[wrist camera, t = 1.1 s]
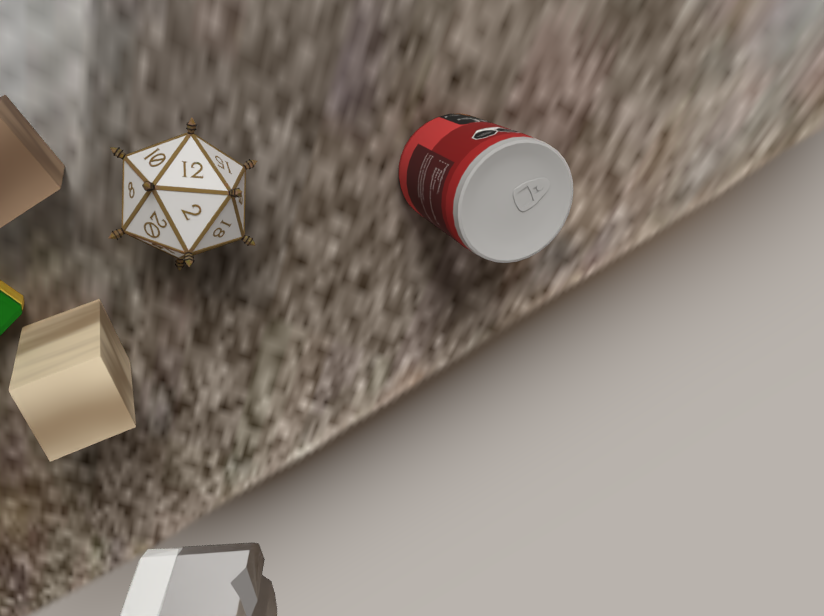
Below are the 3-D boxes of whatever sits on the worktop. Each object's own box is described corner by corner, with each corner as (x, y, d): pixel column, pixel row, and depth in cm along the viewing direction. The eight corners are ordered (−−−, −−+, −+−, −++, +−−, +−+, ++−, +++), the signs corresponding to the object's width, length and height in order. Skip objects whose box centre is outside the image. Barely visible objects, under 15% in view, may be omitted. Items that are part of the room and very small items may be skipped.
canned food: (514, 161, 58) (596, 196, 48) (441, 239, 58) (508, 289, 49) (451, 86, 54) (527, 109, 44) (373, 170, 54) (432, 210, 45)
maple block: (22, 327, 50) (8, 390, 42) (99, 299, 51) (100, 356, 43) (56, 390, 52) (50, 461, 44) (130, 361, 53) (136, 426, 45)
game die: (184, 198, 54) (191, 322, 49) (77, 138, 47) (72, 274, 42) (280, 133, 50) (298, 260, 45) (178, 59, 44) (186, 198, 39)
